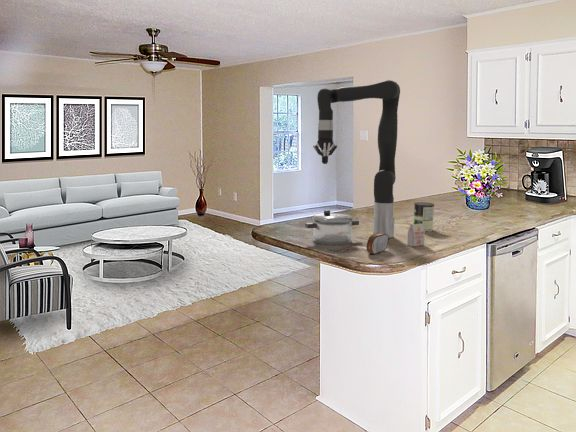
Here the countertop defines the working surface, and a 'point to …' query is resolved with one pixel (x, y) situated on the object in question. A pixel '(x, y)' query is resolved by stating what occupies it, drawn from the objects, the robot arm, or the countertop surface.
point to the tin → (377, 243)
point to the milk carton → (416, 235)
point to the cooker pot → (331, 232)
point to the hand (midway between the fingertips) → (324, 163)
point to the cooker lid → (332, 218)
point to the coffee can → (424, 215)
